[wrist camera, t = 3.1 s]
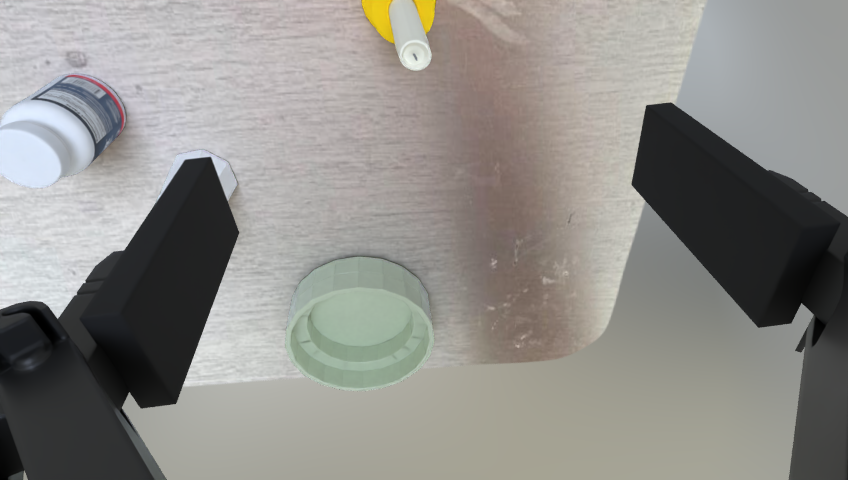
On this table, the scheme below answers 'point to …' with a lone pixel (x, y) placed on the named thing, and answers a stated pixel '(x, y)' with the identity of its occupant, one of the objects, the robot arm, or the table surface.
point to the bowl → (359, 324)
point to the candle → (404, 27)
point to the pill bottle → (59, 130)
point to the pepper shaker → (220, 166)
